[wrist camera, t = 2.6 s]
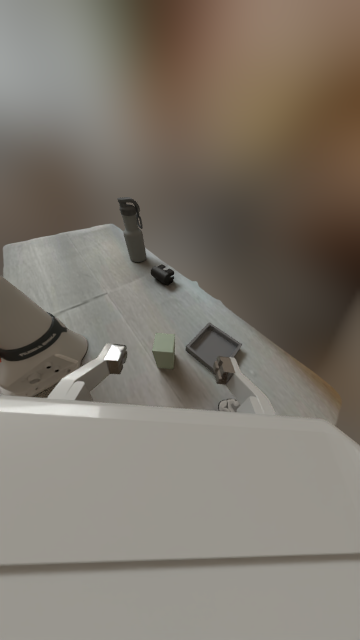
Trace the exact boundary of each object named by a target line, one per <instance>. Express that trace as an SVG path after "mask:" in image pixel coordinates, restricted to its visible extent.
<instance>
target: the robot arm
mask: <svg viewBox="0 0 360 640" xmlns="http://www.w3.org/2000/svg"><path fill="white" fill-rule="evenodd" d="M87 346H88V343H87V340H86V338H85V337H84V336H82V335H80V334H77V333H75V332H73V331H71V330H69V329H68V328H66V326H65V325H64V324H63V323H62V322H61V321H60V320H59V319H57V318H56V317H54V316H53V315H52V314H50V313H48V312H45V311H44V310H43V309H42V308H41V307H39V306H38V305H37V304H36V303H35V302H33V301H32V300H31V299H30V298H29V297H27V296H26V295H25V294H24V293H23V292H21V291H20V290H19V289H17V288H16V287H15V286H13V285H12V284H11V283H10V282H8V281H7V280H6V279H5V278H3V277H2V276H1V275H0V390H1V393H2V395H0V640H360V446H359V445H358V444H357V443H356V442H355V441H353V440H352V439H351V438H350V437H348V436H347V435H346V434H344V433H343V432H342V431H341V430H339V429H338V428H337V427H335V426H334V425H333V424H331V423H330V422H328V421H327V420H324V419H320V418H306V417H293V416H279V415H276V413H275V411H274V409H273V407H272V405H271V403H270V401H269V399H268V397H267V396H266V395H265V394H263V393H262V392H261V391H260V390H259V389H258V388H257V387H256V386H255V385H254V384H253V383H252V382H251V381H250V380H249V379H248V378H247V377H246V376H245V375H244V374H242V373H241V371H240V368H239V366H238V364H237V361H236V359H235V358H232V357H224V356H218V357H217V358H216V359H217V361H215V362H214V365H213V369H214V372H215V373H216V376H215V378H216V382H217V384H225V385H226V386H227V387H228V389H229V390H230V392H231V393H232V394H233V396H234V397H235V398H236V400H237V401H238V402H239V404H240V405H241V406H240V407H239V408H237V410H236V411H237V412H226V411H212V410H199V409H186V408H172V407H159V406H145V405H132V404H118V403H105V402H91V401H92V397H91V395H90V393H89V392H90V391H91V390H92V389H93V388H95V387H96V386H97V385H98V384H99V383H100V382H101V381H102V380H104V379H105V378H106V377H107V376H108V375H109V374H121V371H122V369H123V364H124V363H125V361H126V358H127V351H126V349H127V347H126V345H119V344H111V343H107V344H106V345H105V346H104V348H103V350H102V351H101V353H100V354H99V356H98V357H97V359H93V360H92V361H90V362H89V363H87V364H85V365H84V366H82V367H80V363H81V360H82V358H83V357H84V355H85V353H86V351H87ZM70 370H71V371H70ZM69 371H70V372H69ZM58 382H59V383H58ZM56 383H58V384H57V385H56V387H55V388H54V389H53V391H52V392H51V393H50V394H49V396H48V397H47V398H38V397H33V396H35V395H37V394H38V393H40V392H42V391H44V390H46V389H47V388H49V387H51V386H53V385H54V384H56Z"/></svg>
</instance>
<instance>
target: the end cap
mask: <svg viewBox="0 0 360 640" xmlns="http://www.w3.org/2000/svg"><path fill="white" fill-rule="evenodd" d="M163 268H165V266H164V265H160V266H158V267H156V266H154V267H153V268H152V270H151V275H152V276H153V277H154V278H156V279H157V280H159V281H161V282H162V283H164V284H165V285H169V284H171V283H172V282H173V279H174V276H173V277H170V276H172V275H174V271H173V270H171V269H168V270H163Z"/></svg>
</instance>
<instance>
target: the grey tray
mask: <svg viewBox="0 0 360 640" xmlns="http://www.w3.org/2000/svg"><path fill="white" fill-rule="evenodd" d="M241 346H242V344H241V343H239V342H238V341H236V340H235V339H233V338H232V337H230V336H229V335H227V334H226V333H224V332H223V331H221V330H220V329H218V328H217V327H215V326H214V325H212V324H211V323H208V324H207V325H206V326H205V327H204V328H203V329H202V330H201V331H200V333H199V334H198V335H197V336H196V337H195V338H194V339H193V340H192V341H191V342H190V343H189V344H188V345H187V346H186V351H187V352H189V353H190V354H191V355H192V356H193V357H195V358H196V359H197V360H198V361H199V362H201V363H202V364H203V365H204V366H205V367H207V368H208V369H209V370H210V371H211V372H213V373H214V374H215V375H216V373H215V372H214V369H213V365H214V362H215V361H217V359H216V358H217V357H218V356H224V357H232V358H234V356H235V355H236V353H237V352H238V350H239V349H240V347H241Z"/></svg>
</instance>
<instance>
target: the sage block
mask: <svg viewBox="0 0 360 640" xmlns="http://www.w3.org/2000/svg"><path fill="white" fill-rule="evenodd" d="M152 352H153V355H154V358H155V361H156V364H157V368H166V369H173V367H174V356H175V334H162V333H156V335H155V339H154V344H153V349H152Z"/></svg>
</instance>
